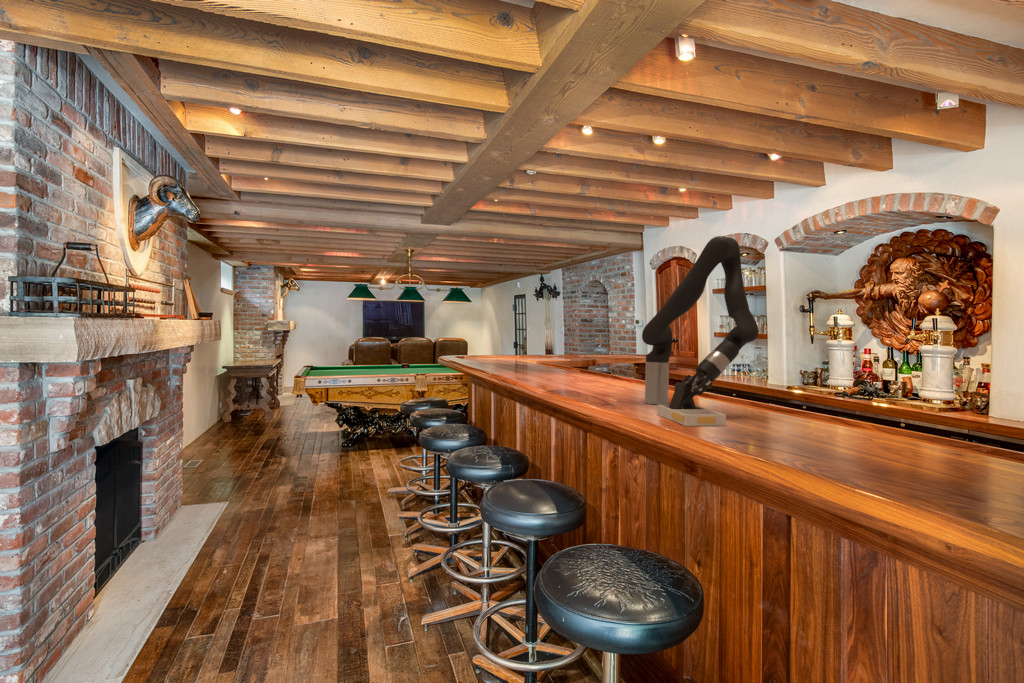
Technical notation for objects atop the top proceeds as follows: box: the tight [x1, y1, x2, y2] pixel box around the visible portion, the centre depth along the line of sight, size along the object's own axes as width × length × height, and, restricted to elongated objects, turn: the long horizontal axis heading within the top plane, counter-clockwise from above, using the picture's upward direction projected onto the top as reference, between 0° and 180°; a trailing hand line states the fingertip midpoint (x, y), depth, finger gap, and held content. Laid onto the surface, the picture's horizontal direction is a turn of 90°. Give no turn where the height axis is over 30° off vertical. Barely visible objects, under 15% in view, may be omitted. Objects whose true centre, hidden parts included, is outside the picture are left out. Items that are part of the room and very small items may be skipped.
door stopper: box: [668, 381, 696, 410], centre depth 169 cm, size 9×6×12 cm, turn 101°
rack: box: [656, 404, 727, 427], centre depth 164 cm, size 21×14×4 cm, turn 8°
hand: (680, 399), depth 169 cm, fingers closed on door stopper, 6 cm apart
